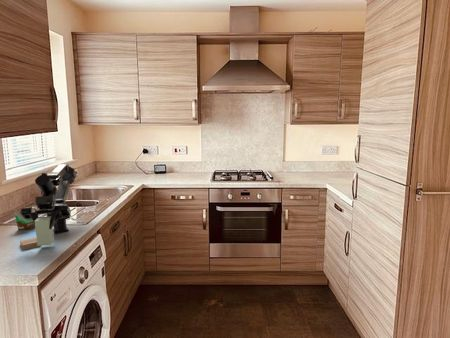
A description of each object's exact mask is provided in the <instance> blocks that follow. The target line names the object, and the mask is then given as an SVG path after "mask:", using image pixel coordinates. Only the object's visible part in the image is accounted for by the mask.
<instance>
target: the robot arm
mask: <svg viewBox="0 0 450 338" xmlns="http://www.w3.org/2000/svg"><path fill="white" fill-rule="evenodd" d="M76 178H77V171H76V170H75V168H73V167H71V166H69V164H66V163H62V164H61V163H59V164H57V165H56V167H55V168H54V169H53V170H52V171H51V172H42V173H41V174H40V175H38V176H37V177H35V179H34V182H35V185H36V186H37V187H38V190H39V191H40V192H42V194H41V195H40V196H35V204H34V205H36V207H37V210H36V209H33V208H32V207H31V206H27V207H25V206H24V207H22V208H21V209H20V210H19V211H20V214H21V215H22V216H23V218H24V219H32V220H33V221H34V226H35V220H36V219H37V218H39V217H40V216H39V215H46V217H50V216H51V221H50V226H49V229H52V227H53V235H54V234H61V233H64V232H68V231H70V229H69V227H67V220H68V219H70V218H71V208H70V206H69V205H68V204H66V201H67V196H68V193H69V189H70V186H71V184H73V183H75V181H76ZM57 187H58V188H57ZM34 230H35V231H36V229H35V228H34Z"/></svg>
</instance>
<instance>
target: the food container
mask: <svg viewBox="0 0 450 338" xmlns="http://www.w3.org/2000/svg"><path fill="white" fill-rule="evenodd" d="M30 207H32V208H33V209H36V210H38V207H37V205H35V204H34V205H33V204H32V205H31V206H30ZM20 211H21V210H17V211H16V210H15V211H13V216H14V217H15V222H16V226H17V230H18V231H25V230H26V231H27V230H30V229H33V228H34V229H35V226H34V221H33V220H32V219H24V218H23V216H22V215H21V214H20Z"/></svg>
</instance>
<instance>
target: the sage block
mask: <svg viewBox="0 0 450 338" xmlns="http://www.w3.org/2000/svg"><path fill="white" fill-rule="evenodd" d="M38 217H39V218H37V219H36V220H35V227H34V230H35V229H36V230H35V237H36V238H37V246H38V247H41V246H42V247H43V246H51V245H52V244H53V243H54V241H55V238H54V232H53V229H54V227H52V229H49V226H50V221H51V216H50V217H47V216H38Z"/></svg>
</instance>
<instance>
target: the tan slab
mask: <svg viewBox="0 0 450 338" xmlns="http://www.w3.org/2000/svg"><path fill="white" fill-rule="evenodd" d="M19 242H20V247H21V250H22V251H25V250H28V249H29V250H30V249H35V248H37V247H39V246H37V238H36V236H35V237H30V238H26V239H20V240H19Z"/></svg>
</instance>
